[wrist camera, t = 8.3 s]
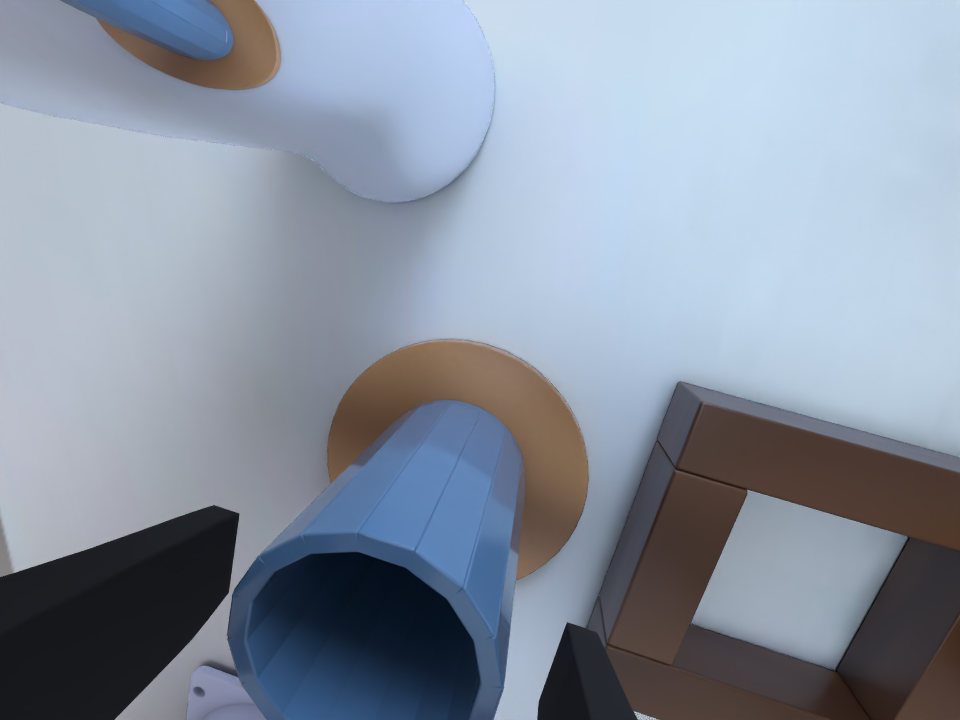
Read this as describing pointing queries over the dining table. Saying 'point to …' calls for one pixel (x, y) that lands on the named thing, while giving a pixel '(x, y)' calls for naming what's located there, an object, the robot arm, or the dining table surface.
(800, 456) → the cup holder
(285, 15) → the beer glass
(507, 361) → the coaster
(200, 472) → the dining table surface
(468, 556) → the blue cup
